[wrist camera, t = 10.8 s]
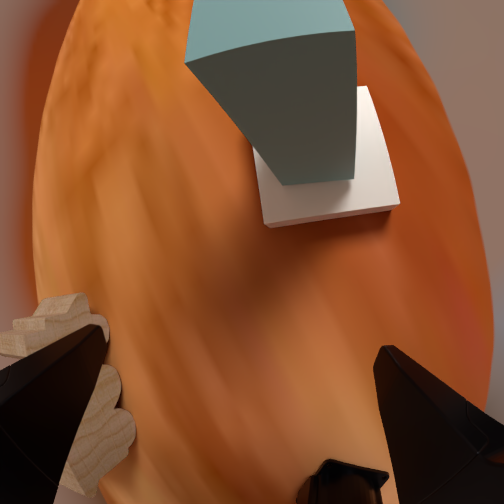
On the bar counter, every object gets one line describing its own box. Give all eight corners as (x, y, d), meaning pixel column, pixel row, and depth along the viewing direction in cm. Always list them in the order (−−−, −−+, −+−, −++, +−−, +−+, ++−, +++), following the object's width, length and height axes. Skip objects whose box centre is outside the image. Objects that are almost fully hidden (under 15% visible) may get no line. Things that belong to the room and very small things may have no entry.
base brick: (389, 211, 20) (400, 203, 17) (271, 229, 22) (264, 224, 19) (362, 105, 21) (366, 85, 18) (254, 121, 22) (246, 104, 20)
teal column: (354, 179, 17) (354, 30, 5) (282, 185, 19) (184, 63, 7) (344, 116, 18) (321, -43, 6) (277, 123, 19) (196, -16, 7)
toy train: (103, 290, 25) (16, 298, 15) (145, 451, 23) (88, 502, 14) (67, 295, 26) (-12, 303, 16) (106, 442, 25) (49, 482, 15)
